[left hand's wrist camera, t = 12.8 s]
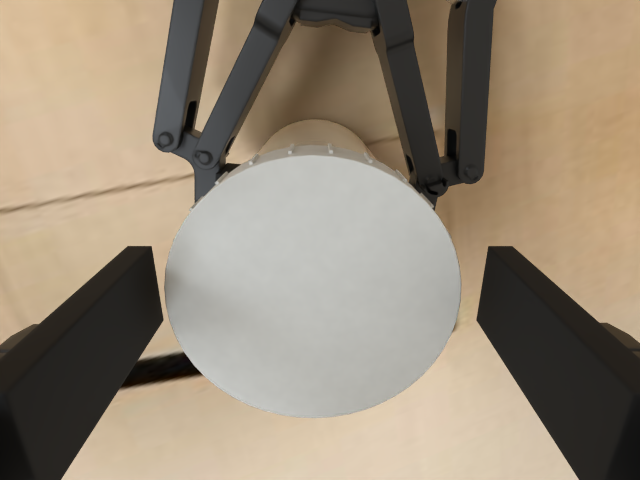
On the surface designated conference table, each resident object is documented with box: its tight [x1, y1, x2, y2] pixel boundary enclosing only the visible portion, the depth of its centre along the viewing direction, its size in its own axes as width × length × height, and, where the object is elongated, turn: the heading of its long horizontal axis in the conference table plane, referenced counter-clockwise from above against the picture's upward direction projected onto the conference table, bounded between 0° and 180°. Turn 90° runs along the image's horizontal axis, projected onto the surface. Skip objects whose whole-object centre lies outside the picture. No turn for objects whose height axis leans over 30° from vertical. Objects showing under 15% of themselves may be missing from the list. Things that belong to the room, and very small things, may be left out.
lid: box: [164, 143, 461, 418], centre depth 14 cm, size 9×9×2 cm
